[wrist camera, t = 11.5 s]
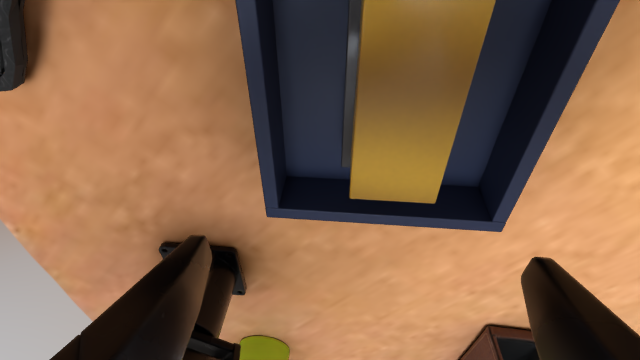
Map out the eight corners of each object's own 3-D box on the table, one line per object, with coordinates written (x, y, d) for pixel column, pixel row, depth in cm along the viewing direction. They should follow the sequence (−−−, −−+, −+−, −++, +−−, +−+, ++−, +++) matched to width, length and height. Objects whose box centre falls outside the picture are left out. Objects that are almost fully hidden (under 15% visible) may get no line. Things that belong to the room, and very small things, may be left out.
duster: (428, 150, 20) (444, 212, 16) (342, 146, 20) (338, 206, 17) (495, -124, 12) (556, -128, 9) (355, -123, 13) (353, -127, 9)
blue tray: (484, 191, 22) (501, 232, 20) (277, 179, 23) (266, 217, 21) (678, -272, 10) (789, -326, 8) (230, -259, 11) (190, -304, 9)
